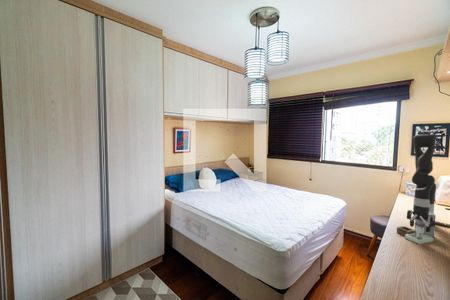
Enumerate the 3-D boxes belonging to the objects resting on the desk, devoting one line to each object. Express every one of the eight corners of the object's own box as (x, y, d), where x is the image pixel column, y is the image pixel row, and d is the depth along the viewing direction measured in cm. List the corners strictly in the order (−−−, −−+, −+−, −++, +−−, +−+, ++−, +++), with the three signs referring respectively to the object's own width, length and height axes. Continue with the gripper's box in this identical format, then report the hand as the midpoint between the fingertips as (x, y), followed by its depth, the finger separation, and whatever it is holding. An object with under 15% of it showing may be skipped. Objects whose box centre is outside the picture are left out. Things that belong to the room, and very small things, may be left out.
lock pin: (417, 236, 137) (418, 222, 136) (425, 240, 132) (426, 225, 132) (412, 237, 136) (413, 223, 135) (420, 241, 131) (421, 226, 131)
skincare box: (428, 233, 144) (430, 211, 143) (435, 238, 137) (436, 215, 136) (413, 231, 146) (415, 209, 146) (419, 235, 140) (420, 213, 139)
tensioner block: (403, 231, 146) (404, 226, 146) (415, 236, 139) (415, 230, 139) (396, 232, 144) (397, 227, 144) (407, 237, 138) (408, 231, 137)
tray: (418, 235, 140) (418, 232, 140) (433, 241, 132) (433, 237, 132) (404, 238, 136) (405, 234, 136) (419, 244, 128) (419, 240, 128)
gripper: (439, 208, 127) (437, 233, 128) (412, 201, 141) (411, 224, 142) (430, 209, 125) (429, 234, 126) (404, 201, 139) (403, 225, 140)
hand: (419, 229), depth 134 cm, fingers open, 8 cm apart
